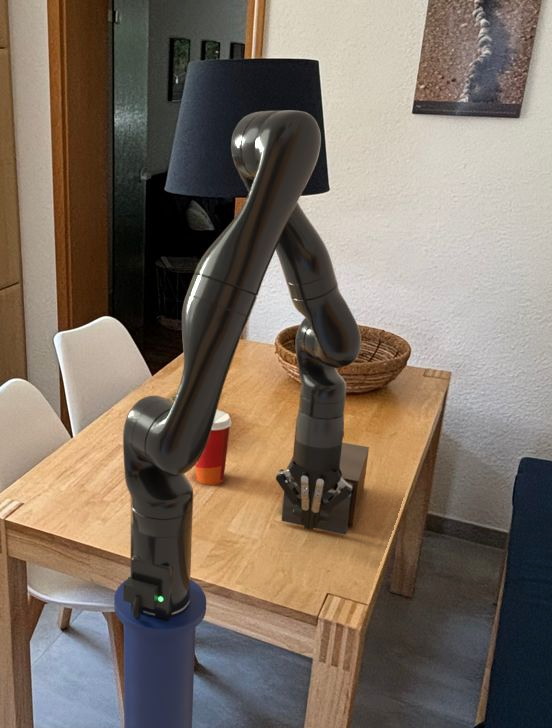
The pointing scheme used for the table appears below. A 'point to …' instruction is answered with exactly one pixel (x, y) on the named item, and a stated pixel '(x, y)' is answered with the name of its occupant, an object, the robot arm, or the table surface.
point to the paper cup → (214, 452)
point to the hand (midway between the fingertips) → (309, 527)
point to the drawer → (328, 520)
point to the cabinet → (353, 473)
